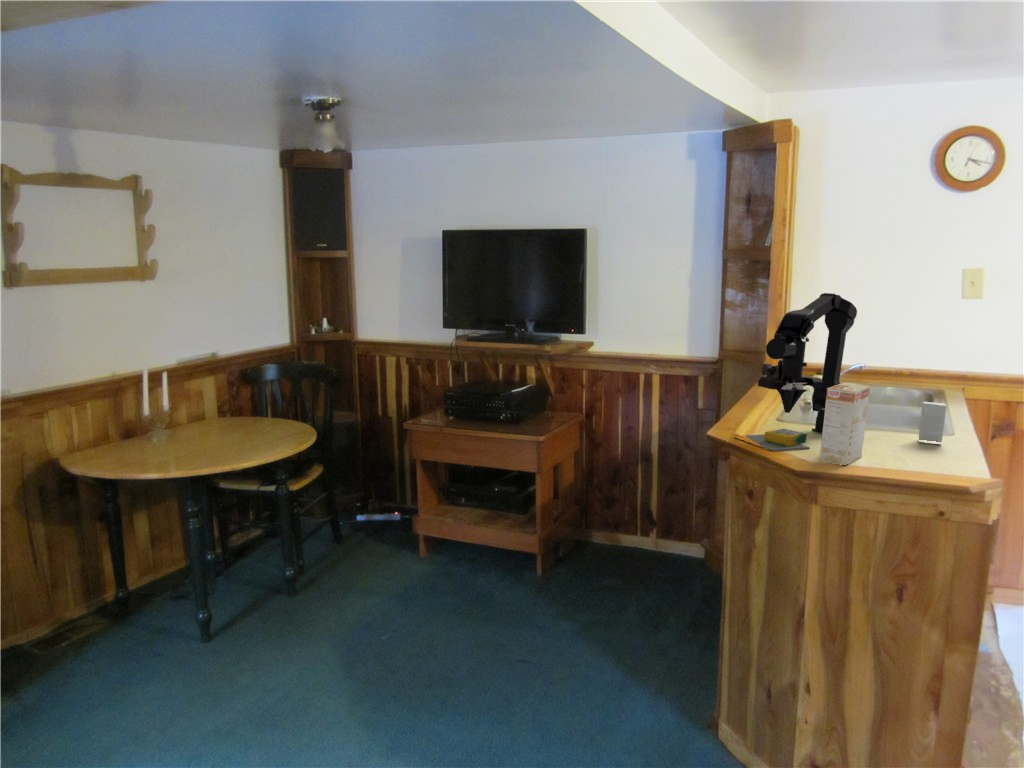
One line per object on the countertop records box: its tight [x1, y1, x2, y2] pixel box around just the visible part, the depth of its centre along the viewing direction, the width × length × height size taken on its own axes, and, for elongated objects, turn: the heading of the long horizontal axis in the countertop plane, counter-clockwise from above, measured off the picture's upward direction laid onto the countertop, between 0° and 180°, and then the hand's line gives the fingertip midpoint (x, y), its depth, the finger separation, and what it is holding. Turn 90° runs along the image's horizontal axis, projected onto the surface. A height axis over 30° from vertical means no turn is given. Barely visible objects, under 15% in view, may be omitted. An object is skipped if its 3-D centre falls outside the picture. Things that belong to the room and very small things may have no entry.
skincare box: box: [918, 401, 947, 443], centre depth 228 cm, size 6×4×12 cm
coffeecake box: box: [818, 382, 871, 466], centre depth 202 cm, size 15×7×20 cm, turn 141°
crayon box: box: [762, 428, 807, 447], centre depth 217 cm, size 7×3×12 cm
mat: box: [744, 433, 810, 452], centre depth 218 cm, size 13×16×1 cm
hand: (787, 412), depth 218 cm, fingers closed
